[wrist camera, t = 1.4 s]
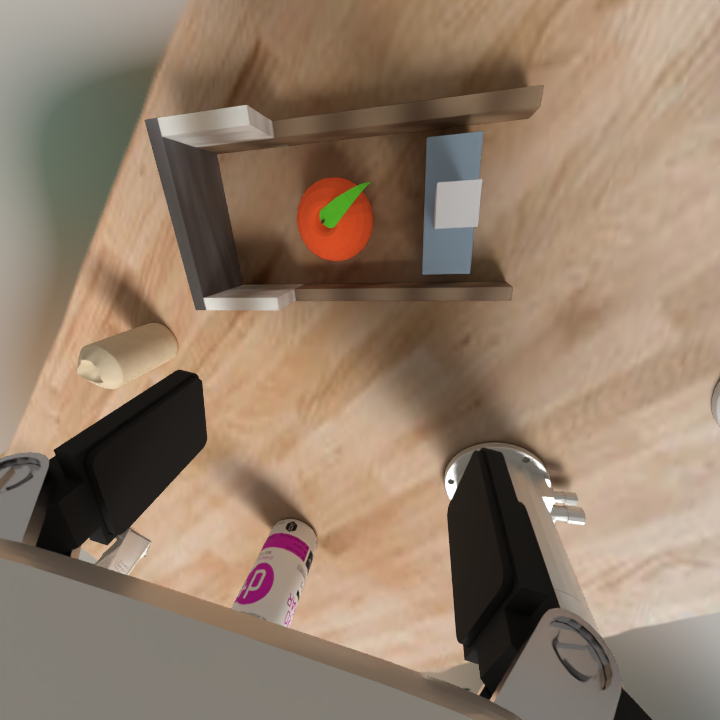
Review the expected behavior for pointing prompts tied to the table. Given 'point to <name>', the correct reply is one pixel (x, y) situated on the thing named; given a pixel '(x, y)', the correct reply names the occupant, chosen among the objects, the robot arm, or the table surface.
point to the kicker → (451, 202)
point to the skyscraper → (125, 552)
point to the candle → (126, 355)
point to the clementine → (335, 218)
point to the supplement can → (279, 573)
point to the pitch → (254, 131)
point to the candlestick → (716, 404)
